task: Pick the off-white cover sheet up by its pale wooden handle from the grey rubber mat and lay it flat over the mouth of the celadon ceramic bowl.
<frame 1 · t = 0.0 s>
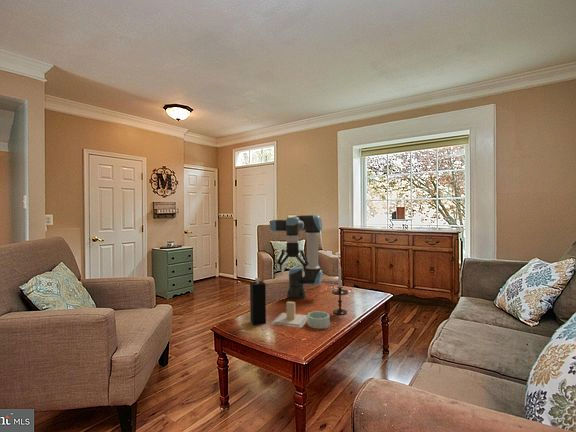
hand: (292, 275, 185), 28 cm above the table, fingers open, 13 cm apart
mat: (291, 320, 185), on the table
candlestick: (340, 312, 198), on the table
bowl: (318, 325, 177), on the table
cover sheet: (291, 319, 185), point 1 cm above the table, touching mat
black block: (258, 323, 181), on the table
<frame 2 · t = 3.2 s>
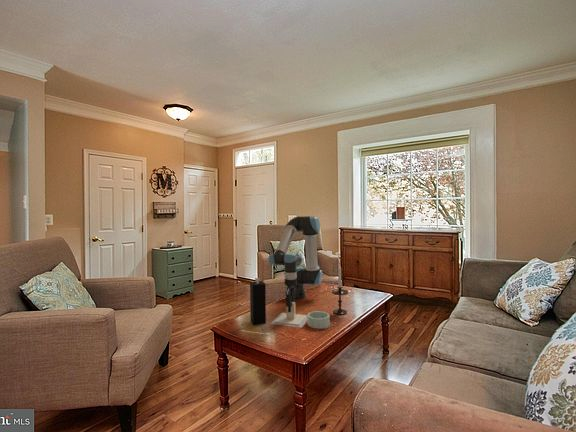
hand: (291, 315, 185), 3 cm above the table, fingers closed on cover sheet, 3 cm apart
cover sheet: (291, 319, 185), point 1 cm above the table, touching gripper, mat
everything else where it was.
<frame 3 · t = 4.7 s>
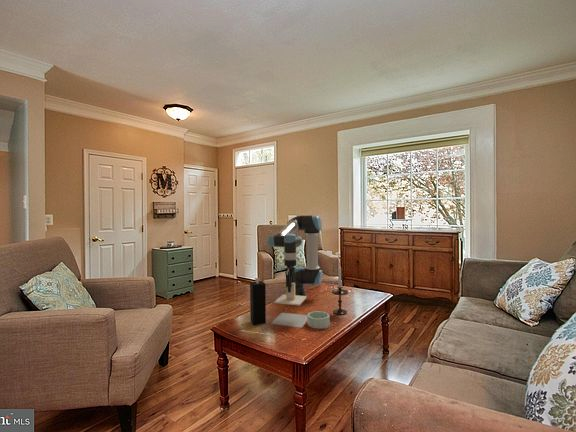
hand: (290, 296, 185), 15 cm above the table, fingers closed on cover sheet, 3 cm apart
cover sheet: (290, 300, 185), point 13 cm above the table, touching gripper
everything else where it was.
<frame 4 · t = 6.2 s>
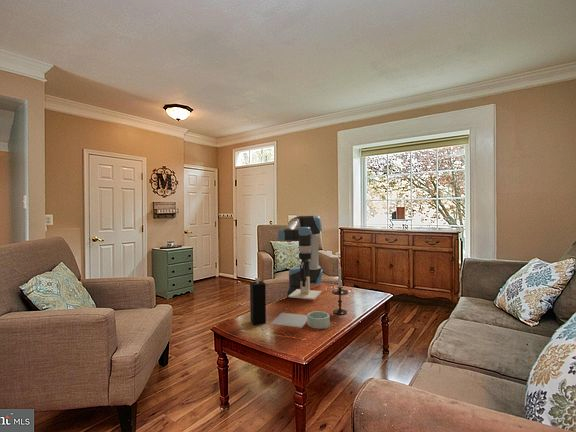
hand: (305, 290, 180), 20 cm above the table, fingers closed on cover sheet, 3 cm apart
cover sheet: (305, 294, 180), point 17 cm above the table, touching gripper
everything else where it was.
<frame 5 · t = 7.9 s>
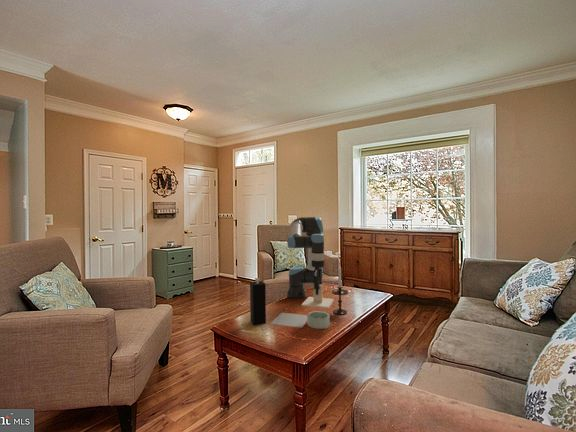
hand: (318, 298, 177), 16 cm above the table, fingers closed on cover sheet, 3 cm apart
cover sheet: (318, 302, 177), point 13 cm above the table, touching gripper
everything else where it was.
when the fingers open (10 cm above the table, at t = 9.4 s): cover sheet drops 1 cm, resting on bowl.
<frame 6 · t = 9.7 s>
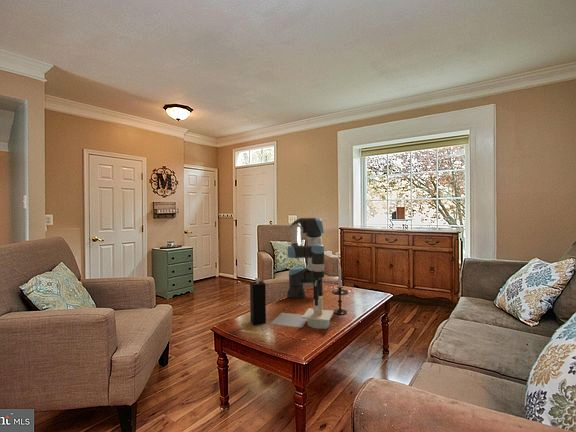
hand: (318, 308, 177), 10 cm above the table, fingers open, 7 cm apart
cover sheet: (318, 315, 177), point 6 cm above the table, touching bowl
everything else where it was.
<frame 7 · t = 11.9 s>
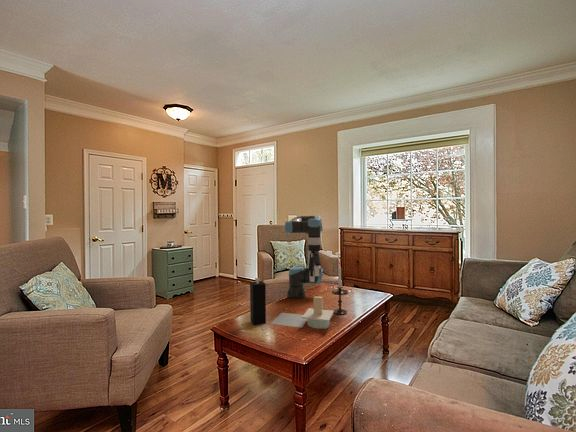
hand: (314, 278, 180), 27 cm above the table, fingers open, 13 cm apart
nothing on the table moved.
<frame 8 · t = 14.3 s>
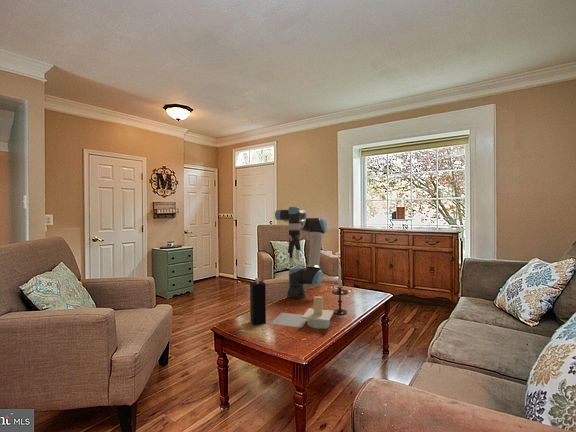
hand: (294, 261, 199), 35 cm above the table, fingers open, 13 cm apart
nothing on the table moved.
at the end: cover sheet 0.0 cm off-centre on the bowl, point 6.0 cm above the bowl's base; cover sheet tilted 0°; the gripper is holding nothing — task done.
